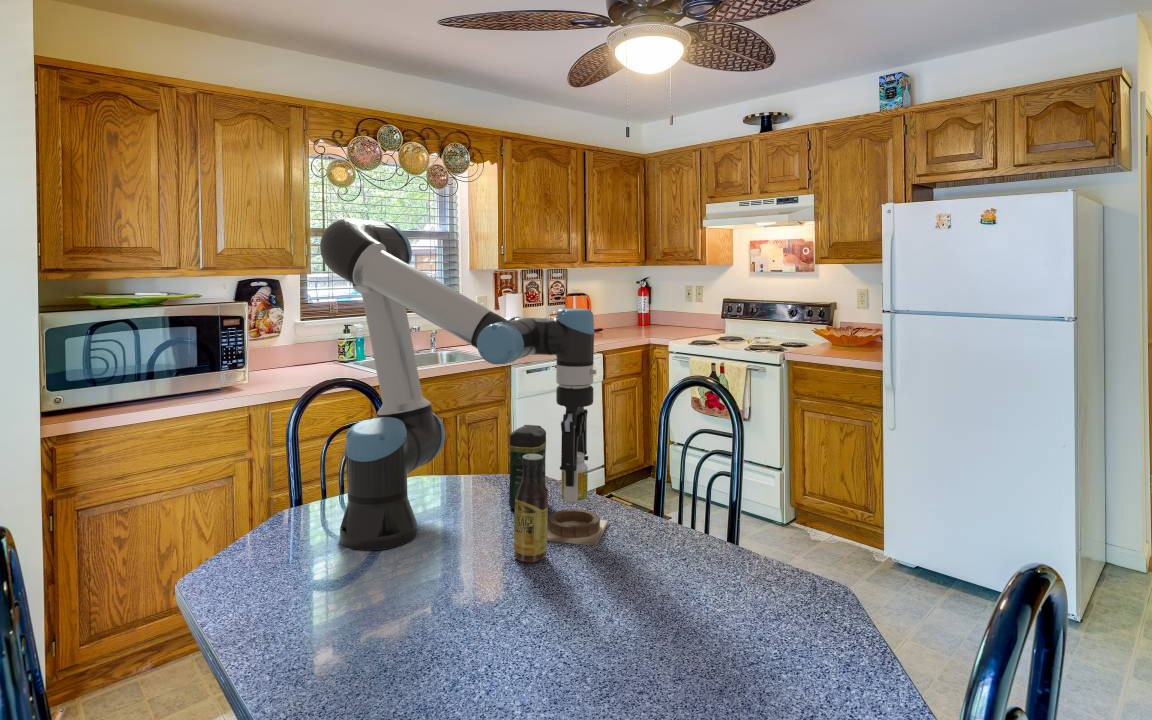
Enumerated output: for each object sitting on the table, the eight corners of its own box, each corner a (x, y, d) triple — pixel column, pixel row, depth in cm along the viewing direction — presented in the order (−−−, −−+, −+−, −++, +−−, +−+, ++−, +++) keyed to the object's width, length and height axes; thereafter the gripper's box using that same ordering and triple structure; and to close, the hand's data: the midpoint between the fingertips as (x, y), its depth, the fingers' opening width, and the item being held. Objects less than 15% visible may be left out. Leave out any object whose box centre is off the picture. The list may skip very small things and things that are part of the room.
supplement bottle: (587, 504, 139) (587, 457, 138) (560, 503, 140) (561, 457, 138) (587, 495, 145) (587, 450, 144) (561, 494, 145) (562, 450, 144)
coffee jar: (539, 514, 153) (539, 432, 151) (505, 511, 155) (504, 430, 152) (549, 500, 163) (549, 423, 160) (517, 497, 164) (517, 421, 162)
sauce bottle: (507, 557, 130) (506, 455, 128) (531, 548, 135) (530, 449, 132) (530, 567, 126) (530, 462, 123) (554, 557, 130) (555, 455, 128)
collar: (538, 539, 139) (538, 525, 138) (553, 519, 150) (553, 505, 150) (596, 545, 136) (596, 531, 136) (607, 524, 148) (607, 510, 147)
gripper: (583, 394, 129) (582, 512, 132) (601, 378, 147) (600, 483, 150) (544, 392, 131) (544, 509, 134) (567, 377, 149) (567, 481, 152)
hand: (574, 495), depth 142 cm, fingers closed on supplement bottle, 5 cm apart
